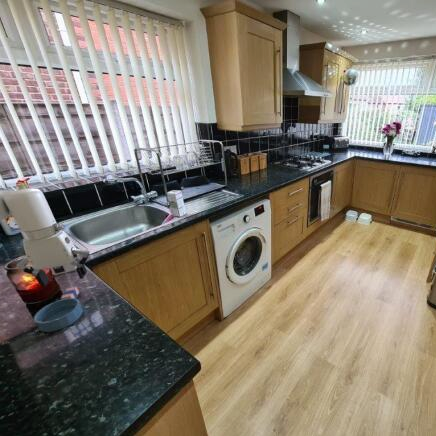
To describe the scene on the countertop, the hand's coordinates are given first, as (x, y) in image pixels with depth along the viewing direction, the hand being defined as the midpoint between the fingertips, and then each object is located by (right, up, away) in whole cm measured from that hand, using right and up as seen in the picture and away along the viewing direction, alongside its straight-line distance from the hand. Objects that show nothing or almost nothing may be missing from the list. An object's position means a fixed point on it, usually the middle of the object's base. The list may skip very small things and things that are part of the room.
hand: (65, 279), depth 77 cm
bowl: (+4, -10, -5) cm, 12 cm away
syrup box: (+4, +22, +69) cm, 72 cm away
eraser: (0, -7, +3) cm, 7 cm away
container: (-17, 0, +18) cm, 25 cm away
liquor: (-45, +9, +40) cm, 61 cm away
